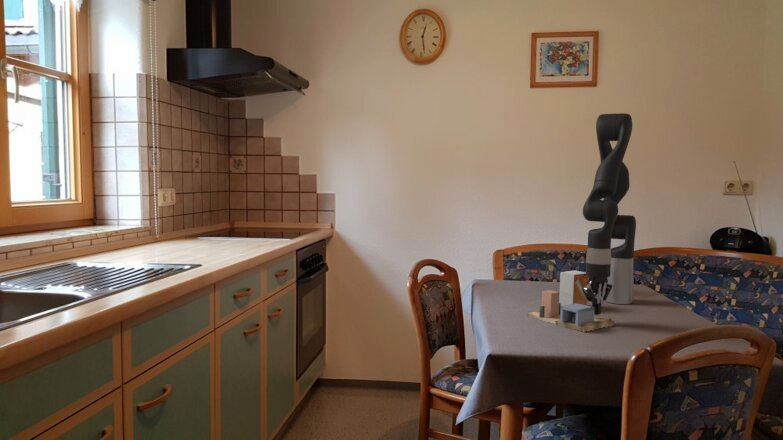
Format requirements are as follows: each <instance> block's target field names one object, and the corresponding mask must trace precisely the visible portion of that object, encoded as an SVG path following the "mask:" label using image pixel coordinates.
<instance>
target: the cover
mask: <svg viewBox="0 0 783 440" xmlns="http://www.w3.org/2000/svg"><path fill="white" fill-rule="evenodd" d="M594 309H595V307H592V305H591V306H589V305H587V306H586V305H582V304H578V303H576V304H570V305H565V306H561V312H560V322H565V321H570V320H572V313H576V322H575V326H581V325H582V324H586V323H591V322H594V316H595V314H594Z"/></svg>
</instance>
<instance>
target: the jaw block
mask: <svg viewBox="0 0 783 440" xmlns="http://www.w3.org/2000/svg"><path fill="white" fill-rule="evenodd" d="M559 295H560V291H555V290H551V289H548V290H542V291H541V305H540V306H545V314H544V316H548V317H555V316H559Z"/></svg>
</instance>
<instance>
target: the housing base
mask: <svg viewBox="0 0 783 440" xmlns="http://www.w3.org/2000/svg"><path fill="white" fill-rule="evenodd" d="M575 322H576V313H572V320H570V321H565V322H560V320H558V324H557V326H561V327H564V328H568V329H572V330H574V329H575V330H574V331H578V330H579V332H581V331H582V333H587V332H591V331H590V330H592V331H595V330H594V329H596V330H599V328H601V329H604V328H603V327H605V328H609V327H613V325H614V326H615V320H613V319H612V318H604V317H601V316H598V315H594V322H591V323H586V324H582V325H581V326H575ZM608 326H609V327H608ZM586 331H587V332H586Z"/></svg>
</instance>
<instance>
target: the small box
mask: <svg viewBox="0 0 783 440" xmlns="http://www.w3.org/2000/svg"><path fill="white" fill-rule="evenodd" d="M559 275H560V277H559V292H560V293H559V303H560V304H561V306H565V305H570V304H576V303H578V304H582V305H586V306H588V305H587V304H588V300H587V298H586V296H585V294H584V292H583V290H582V288H583V287H586V286H587V285H588V284H587V281H588V276H587V275H586V271H585V272H584V271H581V270H580V271H579V270H568V271H561V272H560V274H559Z"/></svg>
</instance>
